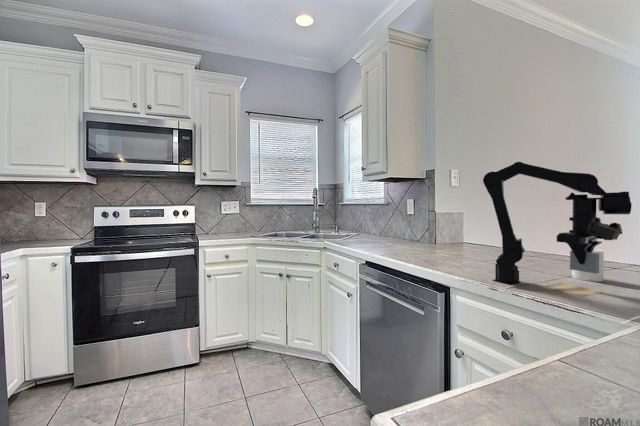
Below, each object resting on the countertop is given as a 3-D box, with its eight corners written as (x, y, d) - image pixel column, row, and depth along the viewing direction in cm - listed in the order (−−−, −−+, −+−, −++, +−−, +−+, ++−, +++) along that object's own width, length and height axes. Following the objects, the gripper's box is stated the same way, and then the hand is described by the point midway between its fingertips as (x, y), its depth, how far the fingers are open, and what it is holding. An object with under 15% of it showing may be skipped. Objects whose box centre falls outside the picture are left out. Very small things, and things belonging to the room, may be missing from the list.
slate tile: (570, 269, 102) (570, 250, 102) (572, 268, 103) (573, 250, 103) (596, 273, 96) (596, 253, 96) (599, 272, 97) (599, 253, 96)
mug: (594, 275, 118) (594, 247, 118) (607, 283, 107) (608, 252, 107) (566, 274, 122) (566, 246, 121) (576, 281, 111) (576, 251, 111)
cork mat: (540, 288, 104) (540, 287, 104) (560, 283, 108) (560, 282, 108) (583, 298, 93) (583, 296, 93) (603, 292, 97) (603, 291, 97)
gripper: (599, 216, 88) (598, 272, 88) (632, 213, 96) (631, 265, 96) (555, 215, 98) (555, 265, 99) (588, 213, 106) (588, 259, 106)
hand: (583, 263), depth 100 cm, fingers closed on slate tile, 2 cm apart
